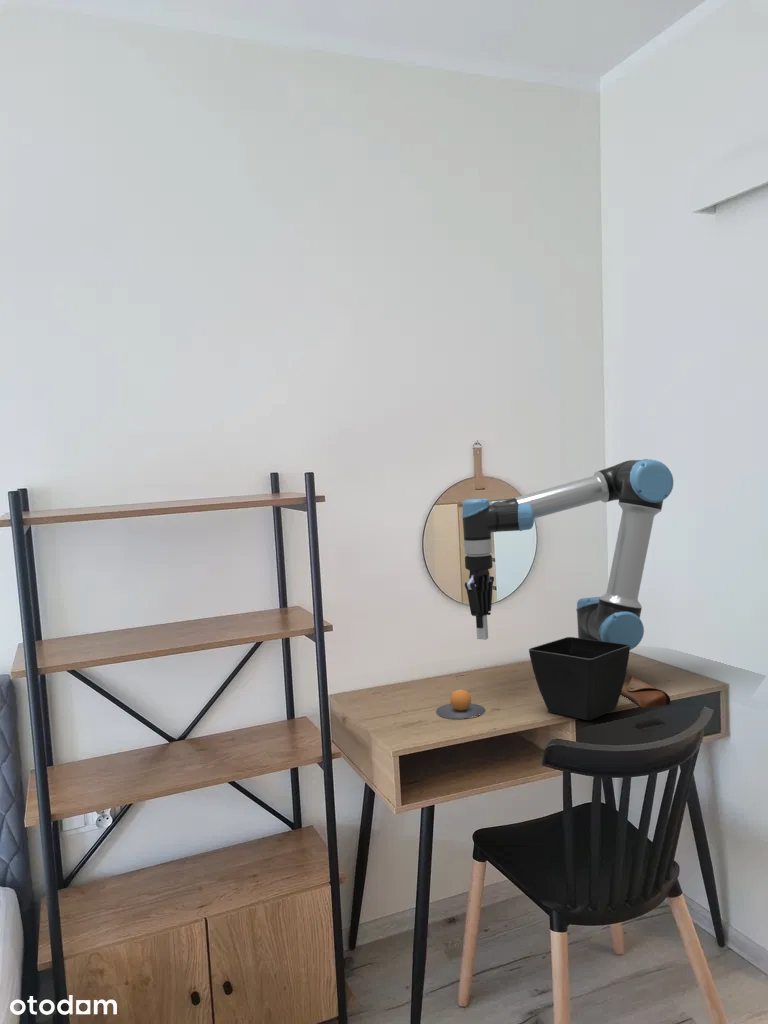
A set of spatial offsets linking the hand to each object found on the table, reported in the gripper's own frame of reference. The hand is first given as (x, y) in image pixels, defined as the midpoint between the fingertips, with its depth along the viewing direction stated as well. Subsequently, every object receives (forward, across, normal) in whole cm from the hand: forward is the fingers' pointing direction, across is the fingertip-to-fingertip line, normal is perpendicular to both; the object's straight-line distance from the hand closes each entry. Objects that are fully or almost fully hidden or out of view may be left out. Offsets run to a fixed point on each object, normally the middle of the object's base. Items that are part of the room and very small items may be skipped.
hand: (482, 638), depth 212 cm
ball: (+14, +13, 0) cm, 19 cm away
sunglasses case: (+17, -17, +37) cm, 44 cm away
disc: (+16, +14, 0) cm, 22 cm away
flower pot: (+17, 0, +28) cm, 33 cm away
